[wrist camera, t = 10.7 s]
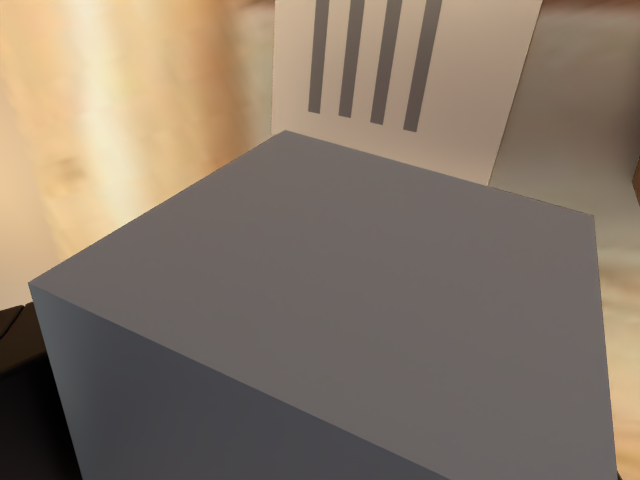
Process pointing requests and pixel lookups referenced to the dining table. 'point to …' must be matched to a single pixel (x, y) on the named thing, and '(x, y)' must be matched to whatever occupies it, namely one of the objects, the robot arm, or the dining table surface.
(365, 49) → the letter
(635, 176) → the walnut block
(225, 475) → the gray cube
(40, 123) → the dining table surface
